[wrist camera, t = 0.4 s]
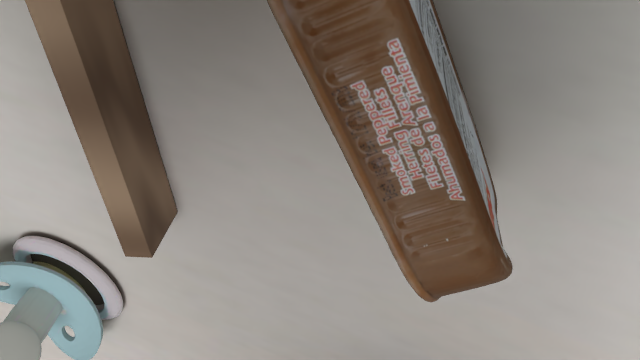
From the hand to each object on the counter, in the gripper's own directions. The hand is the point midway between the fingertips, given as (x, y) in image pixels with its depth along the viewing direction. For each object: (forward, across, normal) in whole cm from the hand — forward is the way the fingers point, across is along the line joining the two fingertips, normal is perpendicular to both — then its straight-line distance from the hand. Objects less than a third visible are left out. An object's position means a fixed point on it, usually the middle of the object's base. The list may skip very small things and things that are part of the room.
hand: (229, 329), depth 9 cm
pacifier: (+14, +14, +16) cm, 26 cm away
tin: (+14, -2, 0) cm, 14 cm away
